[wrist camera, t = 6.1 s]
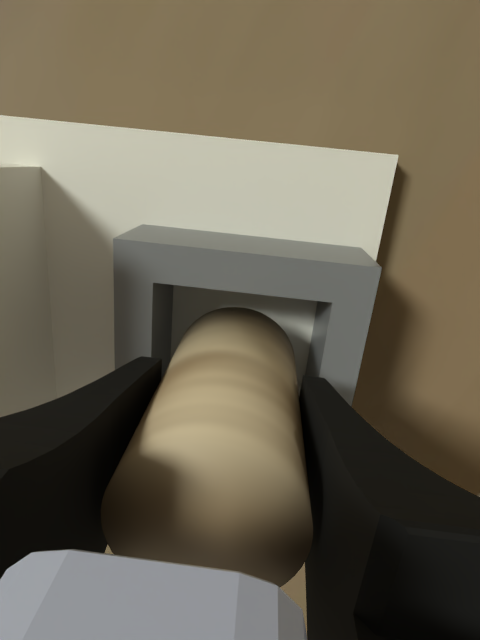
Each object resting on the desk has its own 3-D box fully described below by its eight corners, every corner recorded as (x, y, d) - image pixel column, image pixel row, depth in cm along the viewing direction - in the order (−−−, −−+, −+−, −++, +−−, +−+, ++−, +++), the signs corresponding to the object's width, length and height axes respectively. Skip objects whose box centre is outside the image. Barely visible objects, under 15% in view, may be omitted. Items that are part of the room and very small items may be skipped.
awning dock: (323, 477, 20) (358, 691, 12) (29, 440, 20) (-129, 621, 12) (390, 155, 15) (528, 148, 7) (-3, 116, 15) (-304, 67, 7)
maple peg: (282, 421, 15) (289, 619, 9) (172, 401, 15) (97, 584, 9) (306, 318, 14) (336, 463, 7) (184, 297, 14) (104, 422, 7)
